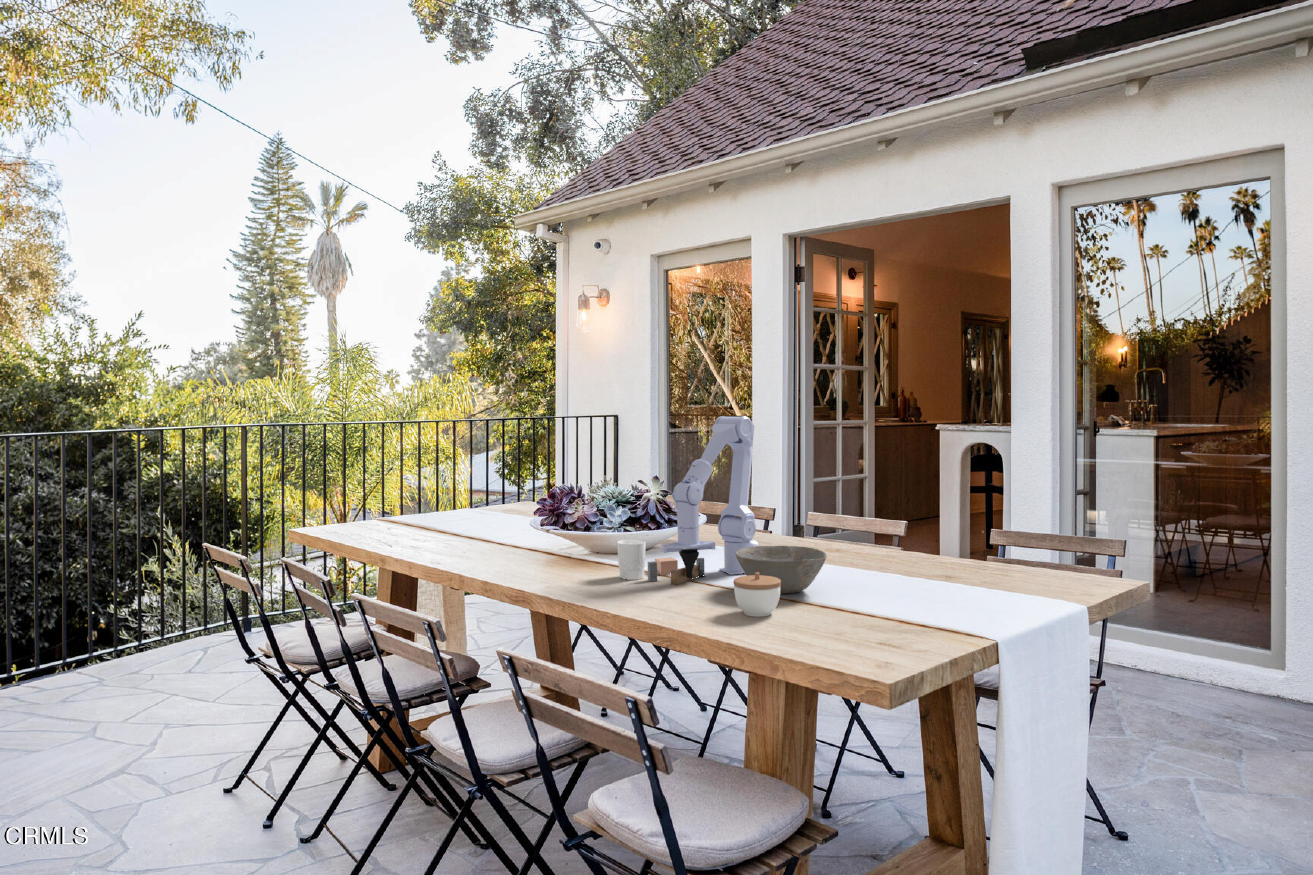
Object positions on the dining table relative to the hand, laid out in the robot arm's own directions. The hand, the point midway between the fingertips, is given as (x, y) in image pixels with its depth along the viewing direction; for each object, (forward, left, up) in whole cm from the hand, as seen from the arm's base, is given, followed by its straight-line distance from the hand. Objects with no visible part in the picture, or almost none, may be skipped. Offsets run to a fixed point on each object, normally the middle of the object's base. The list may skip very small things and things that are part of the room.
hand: (689, 577), depth 229 cm
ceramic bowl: (-18, +19, -2) cm, 26 cm away
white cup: (+12, -12, -2) cm, 17 cm away
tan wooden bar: (+1, -2, -1) cm, 3 cm away
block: (+2, -14, -2) cm, 15 cm away
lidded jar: (-3, +37, -2) cm, 37 cm away
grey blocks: (+1, -6, -1) cm, 6 cm away
